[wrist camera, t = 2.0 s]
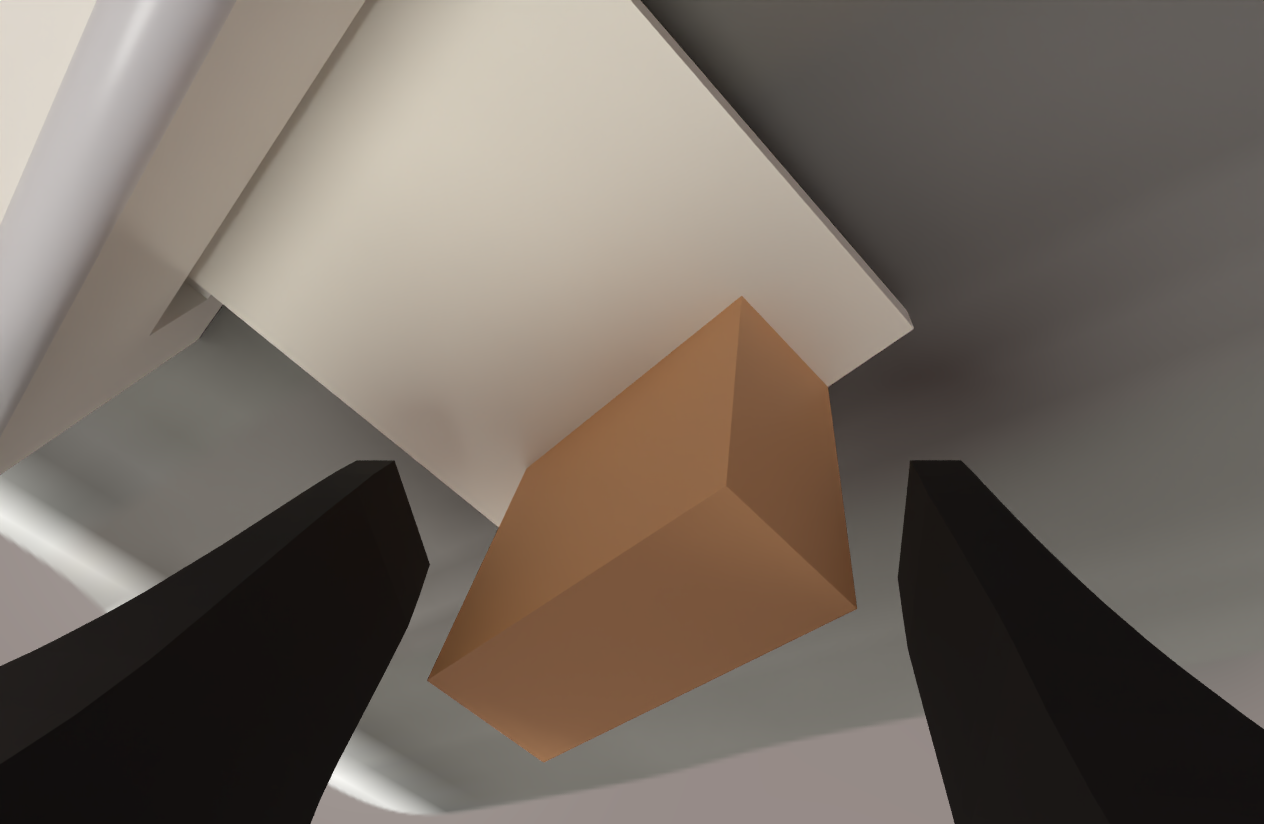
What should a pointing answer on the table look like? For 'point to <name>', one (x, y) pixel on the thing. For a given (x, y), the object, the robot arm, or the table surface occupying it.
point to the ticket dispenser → (128, 181)
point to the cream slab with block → (570, 340)
